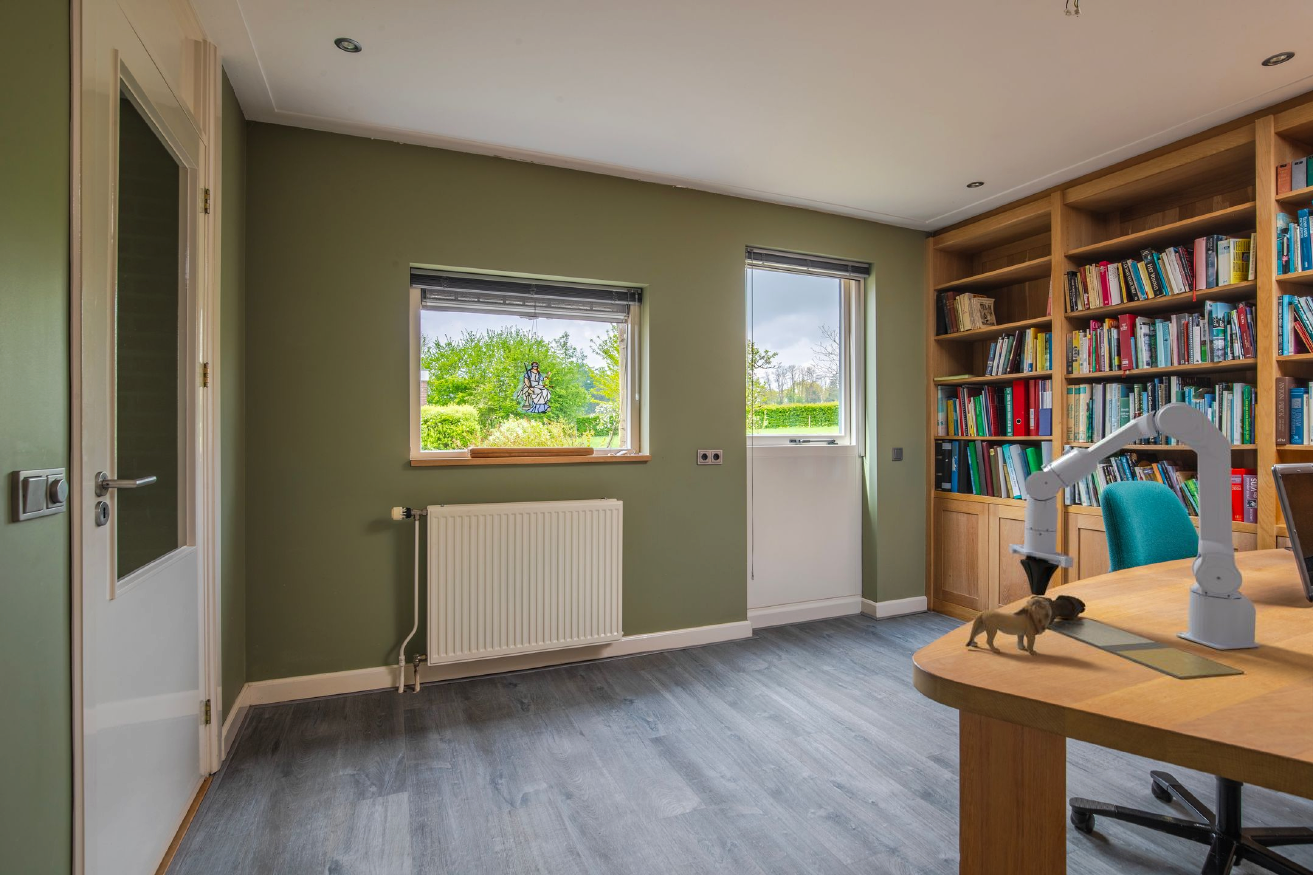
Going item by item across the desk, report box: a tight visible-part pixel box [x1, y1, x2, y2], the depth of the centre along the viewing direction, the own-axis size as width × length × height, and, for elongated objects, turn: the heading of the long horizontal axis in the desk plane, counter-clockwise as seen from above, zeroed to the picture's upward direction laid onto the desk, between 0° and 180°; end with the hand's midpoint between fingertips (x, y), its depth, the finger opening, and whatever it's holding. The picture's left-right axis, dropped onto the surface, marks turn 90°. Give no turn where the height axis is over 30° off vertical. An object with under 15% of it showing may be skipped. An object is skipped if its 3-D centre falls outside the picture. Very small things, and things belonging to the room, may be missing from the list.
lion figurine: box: [964, 598, 1052, 656], centre depth 112 cm, size 15×5×9 cm, turn 93°
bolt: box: [1030, 594, 1086, 625], centre depth 129 cm, size 6×5×15 cm
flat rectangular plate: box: [1046, 618, 1245, 680], centre depth 115 cm, size 13×28×1 cm, turn 13°
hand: (1038, 594), depth 134 cm, fingers closed
